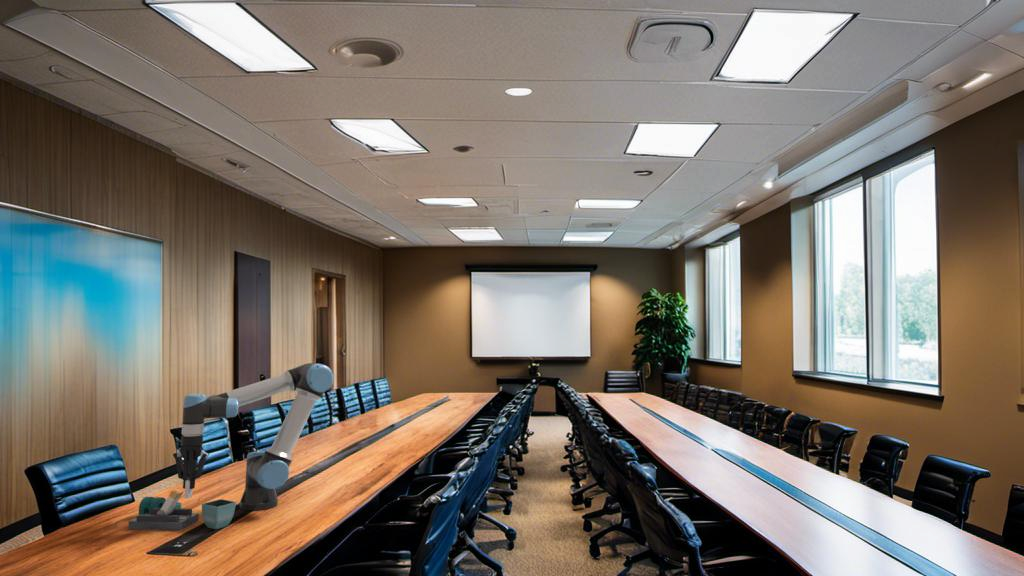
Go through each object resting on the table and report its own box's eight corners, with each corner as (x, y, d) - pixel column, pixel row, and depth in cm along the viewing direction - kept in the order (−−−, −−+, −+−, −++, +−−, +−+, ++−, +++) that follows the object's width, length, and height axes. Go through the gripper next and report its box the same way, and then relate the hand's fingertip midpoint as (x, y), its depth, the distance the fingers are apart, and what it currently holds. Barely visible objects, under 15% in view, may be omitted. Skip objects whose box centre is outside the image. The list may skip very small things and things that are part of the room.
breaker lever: (170, 515, 234) (185, 491, 235) (161, 520, 228) (176, 495, 229) (164, 511, 234) (178, 487, 235) (154, 515, 228) (170, 491, 229)
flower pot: (235, 525, 232) (237, 501, 232) (215, 532, 224) (217, 507, 225) (219, 522, 235) (220, 498, 236) (199, 528, 227) (200, 504, 228)
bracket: (153, 520, 237) (155, 499, 238) (138, 519, 238) (139, 498, 239) (184, 508, 255) (185, 489, 256) (169, 507, 256) (171, 488, 257)
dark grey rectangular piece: (191, 513, 236) (192, 508, 236) (176, 521, 225) (176, 516, 226) (153, 512, 236) (153, 508, 237) (136, 520, 226) (136, 515, 226)
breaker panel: (198, 521, 237) (198, 512, 237) (181, 530, 225) (182, 521, 225) (147, 520, 237) (148, 511, 237) (128, 529, 225) (128, 520, 225)
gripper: (214, 433, 237) (210, 495, 235) (180, 433, 237) (176, 494, 235) (204, 436, 230) (200, 500, 228) (170, 435, 230) (165, 499, 228)
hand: (188, 497), depth 231 cm, fingers closed
